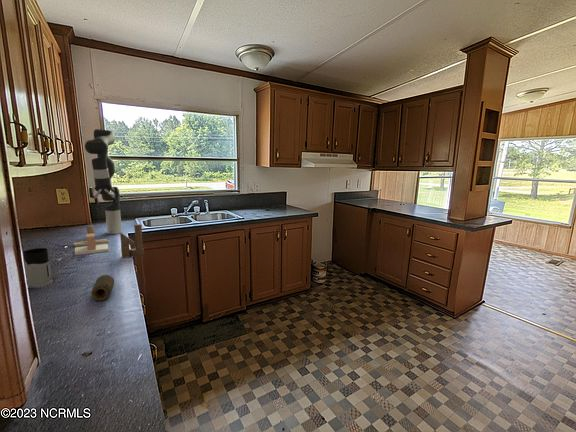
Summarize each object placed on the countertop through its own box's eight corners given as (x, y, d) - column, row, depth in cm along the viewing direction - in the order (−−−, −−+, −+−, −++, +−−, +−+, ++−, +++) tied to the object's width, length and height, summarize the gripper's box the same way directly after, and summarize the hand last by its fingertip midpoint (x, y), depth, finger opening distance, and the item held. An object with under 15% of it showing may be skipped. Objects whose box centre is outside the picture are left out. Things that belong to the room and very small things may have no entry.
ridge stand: (75, 249, 163) (73, 234, 161) (107, 246, 172) (106, 231, 171) (74, 255, 154) (73, 238, 153) (108, 251, 164) (107, 235, 162)
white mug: (29, 281, 120) (25, 248, 117) (70, 277, 126) (67, 245, 124) (22, 290, 112) (17, 255, 109) (66, 284, 119) (62, 251, 116)
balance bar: (74, 244, 174) (72, 226, 172) (108, 241, 184) (106, 224, 182) (74, 246, 170) (72, 228, 168) (108, 242, 180) (107, 225, 178)
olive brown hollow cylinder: (113, 300, 108) (112, 284, 106) (92, 304, 104) (90, 287, 103) (114, 285, 120) (113, 270, 119) (95, 288, 117) (94, 273, 115)
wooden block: (121, 256, 156) (119, 225, 153) (142, 253, 162) (141, 223, 159) (122, 258, 153) (120, 226, 150) (144, 255, 160) (142, 224, 156)
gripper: (117, 175, 164) (121, 201, 168) (88, 176, 159) (93, 203, 163) (114, 177, 157) (118, 205, 162) (84, 178, 152) (90, 206, 157)
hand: (106, 204), depth 163 cm, fingers open, 8 cm apart
